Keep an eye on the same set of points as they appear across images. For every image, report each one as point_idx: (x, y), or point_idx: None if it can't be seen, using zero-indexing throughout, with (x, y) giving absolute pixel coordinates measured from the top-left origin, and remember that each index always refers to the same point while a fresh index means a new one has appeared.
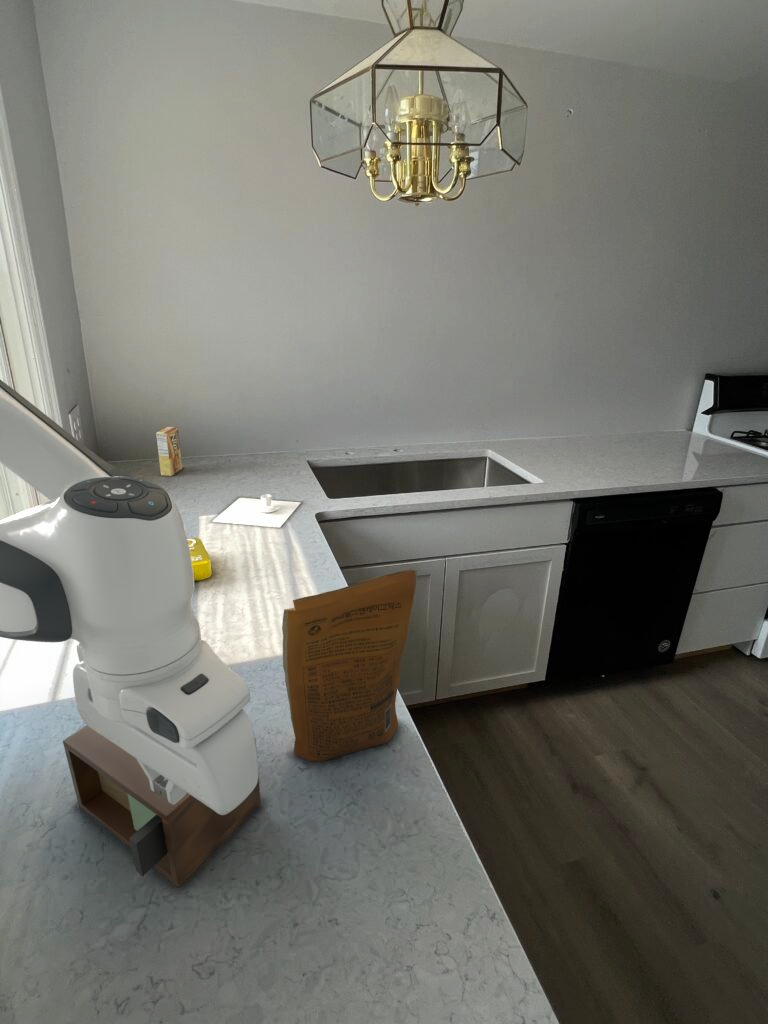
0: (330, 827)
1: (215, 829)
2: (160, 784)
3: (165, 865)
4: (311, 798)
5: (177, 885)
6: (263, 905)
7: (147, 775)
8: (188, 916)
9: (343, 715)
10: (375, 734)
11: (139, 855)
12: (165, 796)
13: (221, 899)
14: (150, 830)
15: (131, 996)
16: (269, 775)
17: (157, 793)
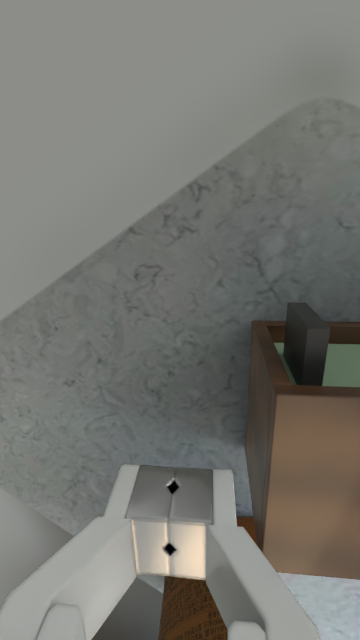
0: (147, 460)
1: (252, 401)
2: (166, 524)
3: None
4: None
5: (253, 321)
6: (144, 358)
7: (241, 539)
8: (211, 303)
9: (190, 621)
10: (168, 584)
11: (298, 318)
12: (143, 483)
13: (192, 338)
14: (305, 357)
15: (195, 203)
16: None
17: (196, 473)
